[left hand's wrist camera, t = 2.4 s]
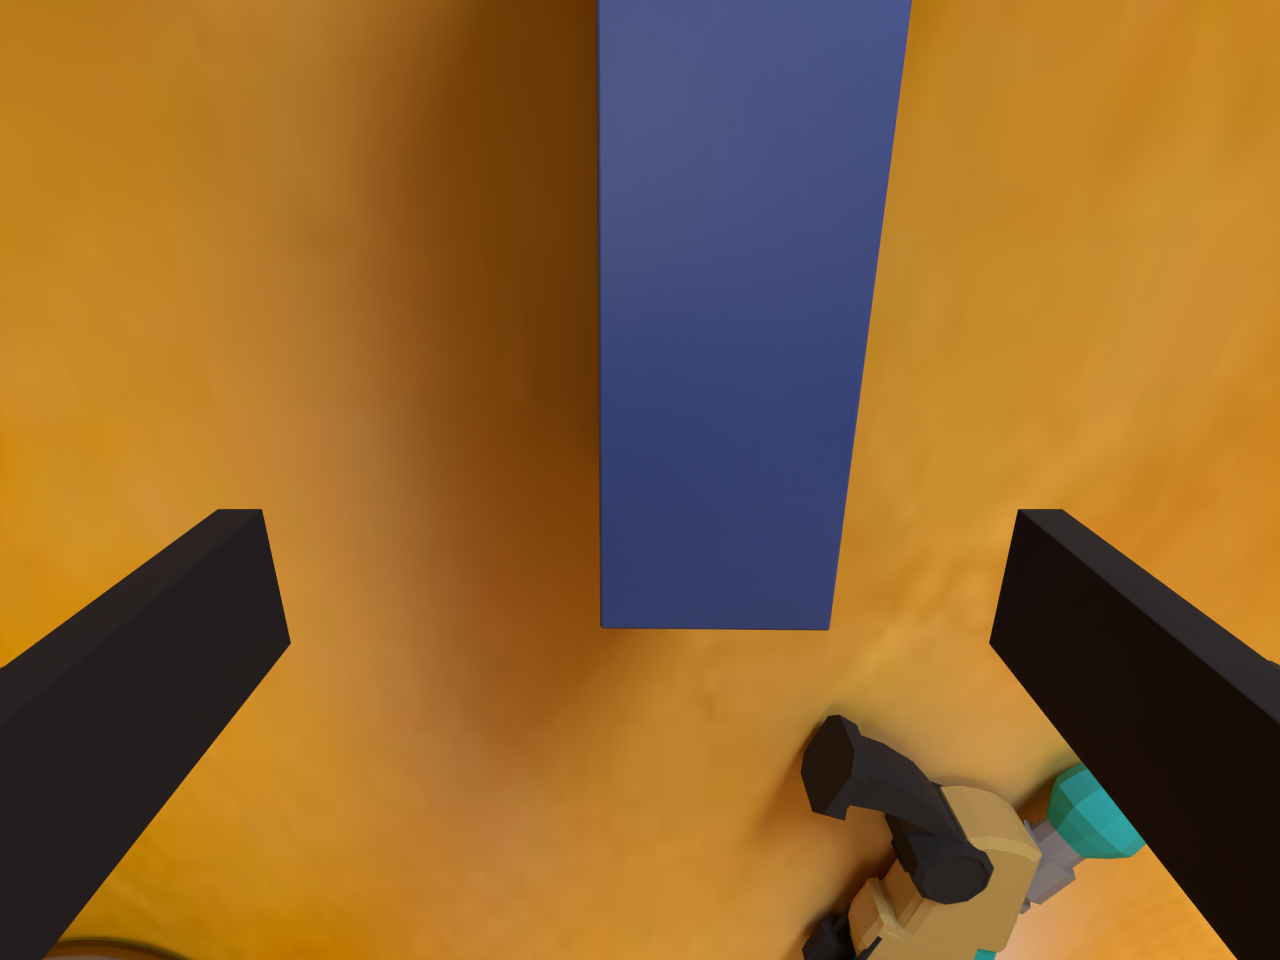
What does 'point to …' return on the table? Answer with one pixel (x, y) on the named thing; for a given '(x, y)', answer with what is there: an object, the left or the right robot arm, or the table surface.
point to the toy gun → (950, 852)
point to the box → (735, 297)
